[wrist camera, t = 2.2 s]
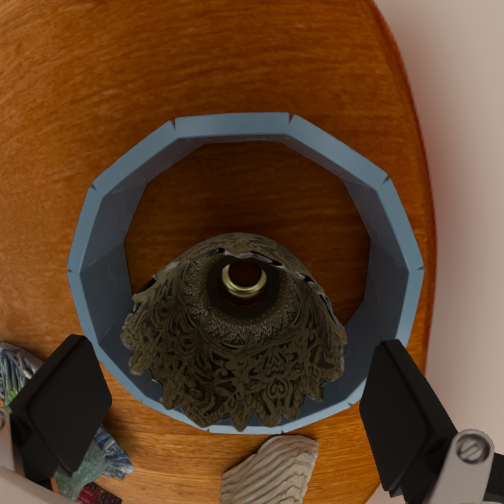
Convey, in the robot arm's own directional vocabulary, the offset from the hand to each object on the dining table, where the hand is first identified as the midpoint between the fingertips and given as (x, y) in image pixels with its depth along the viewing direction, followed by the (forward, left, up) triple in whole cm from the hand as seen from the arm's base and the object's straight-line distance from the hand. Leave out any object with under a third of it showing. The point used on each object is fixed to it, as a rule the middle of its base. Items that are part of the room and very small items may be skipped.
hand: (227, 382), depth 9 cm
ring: (0, 0, -8) cm, 8 cm away
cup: (0, 0, -9) cm, 9 cm away
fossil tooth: (+21, +1, -9) cm, 22 cm away
